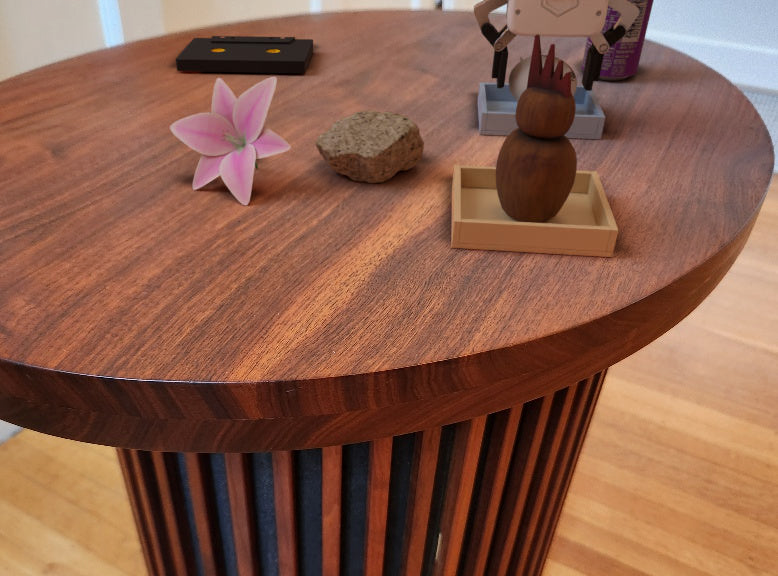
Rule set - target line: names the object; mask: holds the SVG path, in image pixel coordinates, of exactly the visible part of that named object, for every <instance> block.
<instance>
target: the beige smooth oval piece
mask: <svg viewBox="0 0 778 576" xmlns="http://www.w3.org/2000/svg"><path fill="white" fill-rule="evenodd" d="M547 55H548V54H542V65H543V67H544V64H545V61H546V58H547ZM531 57H532V55H530V56H528V57H525V58H523V57H522V56H520V57H519V60H520V61H519V62H518V63H516V64H515V65H514V66H513V68H512V70H511V71H510V73H509V76H508V83H509V89H510V92H511V94H512V96H513V97H514V99H515V100H516V101H517V102H518V100H519V98H520V96H521V94H522V93H523V92H524V91H525V90H526V89H527V82H528V75H529V69H530V63H531ZM561 60H562V58H559V57H557V56H555V64H554V72H555V69H556V67H557V64H558V62H559V61H561ZM568 72H570V73H571V93H572V95H573V96H574V94H575V92H576V89H577V85H578V79H577V76H576V73H575V71H574V69H573V68H572V67H571V66H570V64H568V63H567V62H566V61H564V65H563V77H564V75H565V74H566V73H568Z"/></svg>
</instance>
